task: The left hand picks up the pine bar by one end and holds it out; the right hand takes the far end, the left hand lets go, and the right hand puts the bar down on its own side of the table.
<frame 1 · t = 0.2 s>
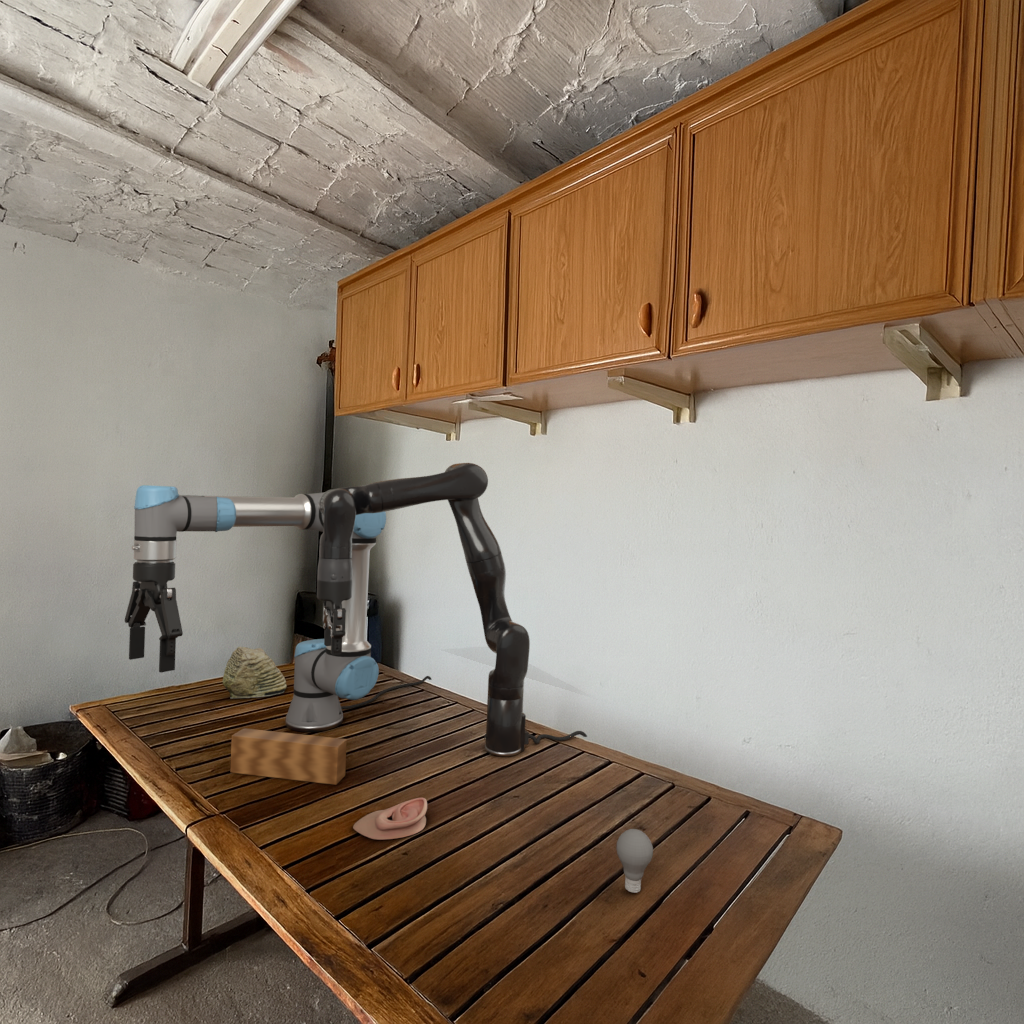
left hand: (151, 664, 130), 28 cm above the table, tool pointing down, fingers open, 13 cm apart
right hand: (332, 649, 142), 29 cm above the table, tool pointing down, fingers open, 8 cm apart
light bulb: (632, 891, 106), on the table
bar: (287, 774, 144), on the table
fossil: (254, 694, 198), on the table
anatomical model: (390, 826, 123), on the table
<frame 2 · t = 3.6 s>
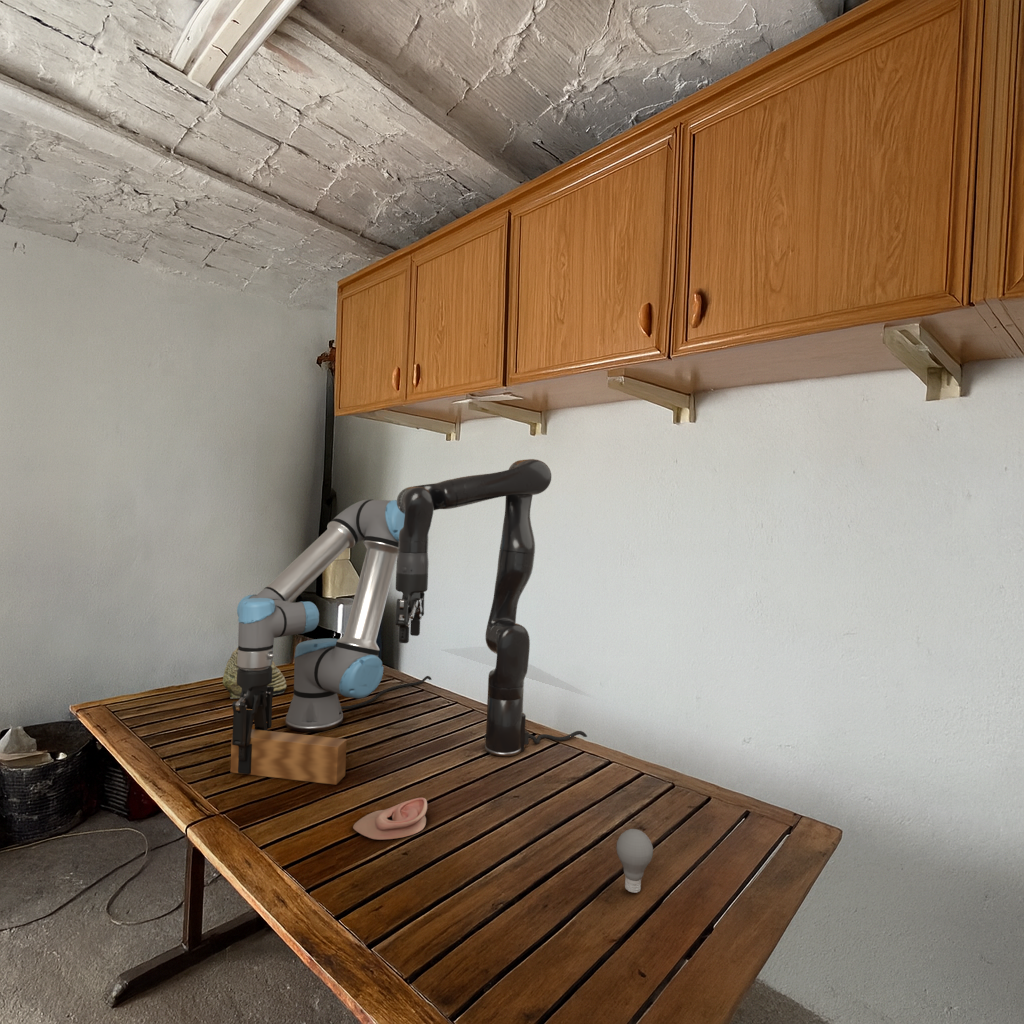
left hand: (251, 767, 145), 1 cm above the table, tool pointing down, fingers closed on bar, 5 cm apart
right hand: (409, 639, 150), 30 cm above the table, tool pointing down, fingers open, 8 cm apart
bar: (287, 774, 144), on the table, touching left hand
everything else where it was.
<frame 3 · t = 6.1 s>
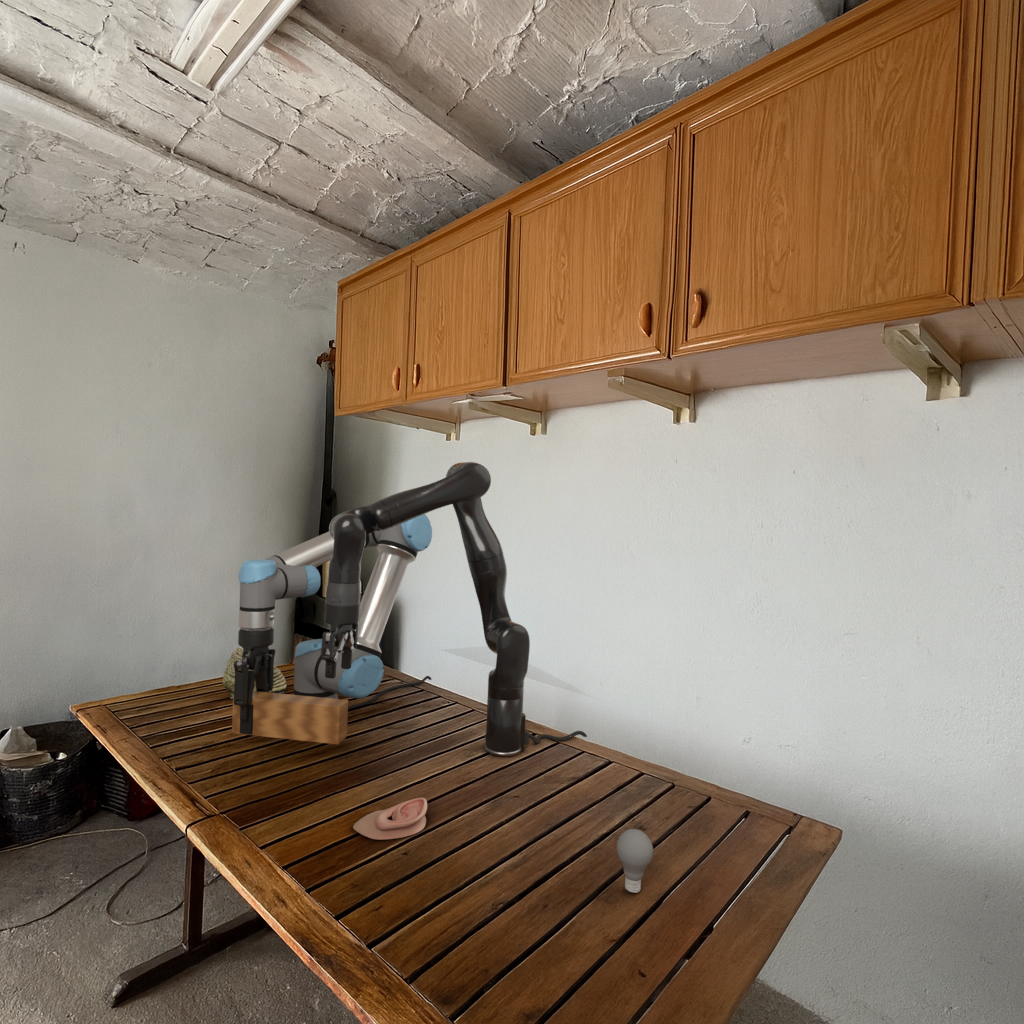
left hand: (252, 728, 145), 9 cm above the table, tool pointing down, fingers closed on bar, 5 cm apart
right hand: (338, 673, 143), 24 cm above the table, tool pointing down, fingers open, 8 cm apart
bar: (289, 734, 144), point 9 cm above the table, touching left hand
everything else where it was.
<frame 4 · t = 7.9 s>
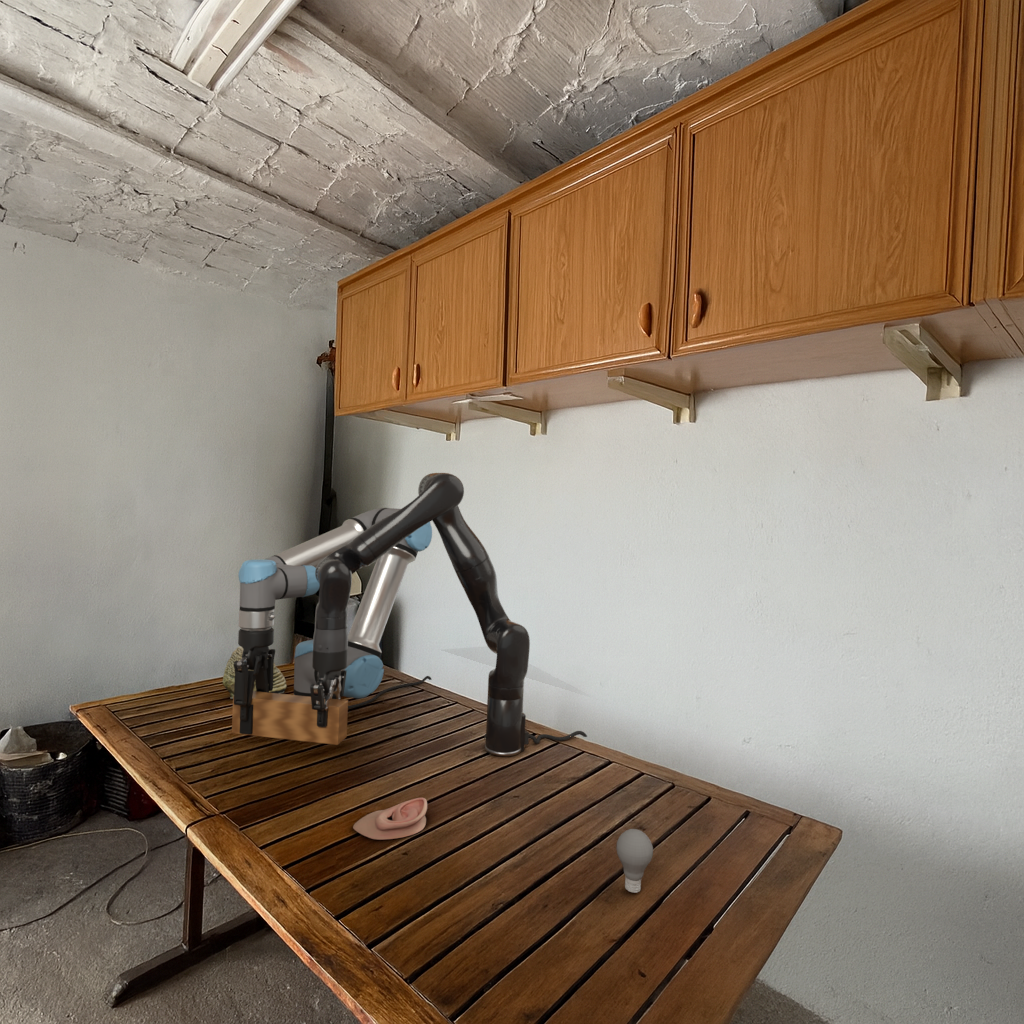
left hand: (252, 728, 145), 9 cm above the table, tool pointing down, fingers closed on bar, 5 cm apart
right hand: (327, 722, 142), 13 cm above the table, tool pointing down, fingers closed on bar, 5 cm apart
bar: (289, 735, 144), point 9 cm above the table, touching left hand, right hand
everything else where it was.
when the left hand's fingers open (10 cm above the table, at t = 8.7 s): bar stays where it is, held by the right hand.
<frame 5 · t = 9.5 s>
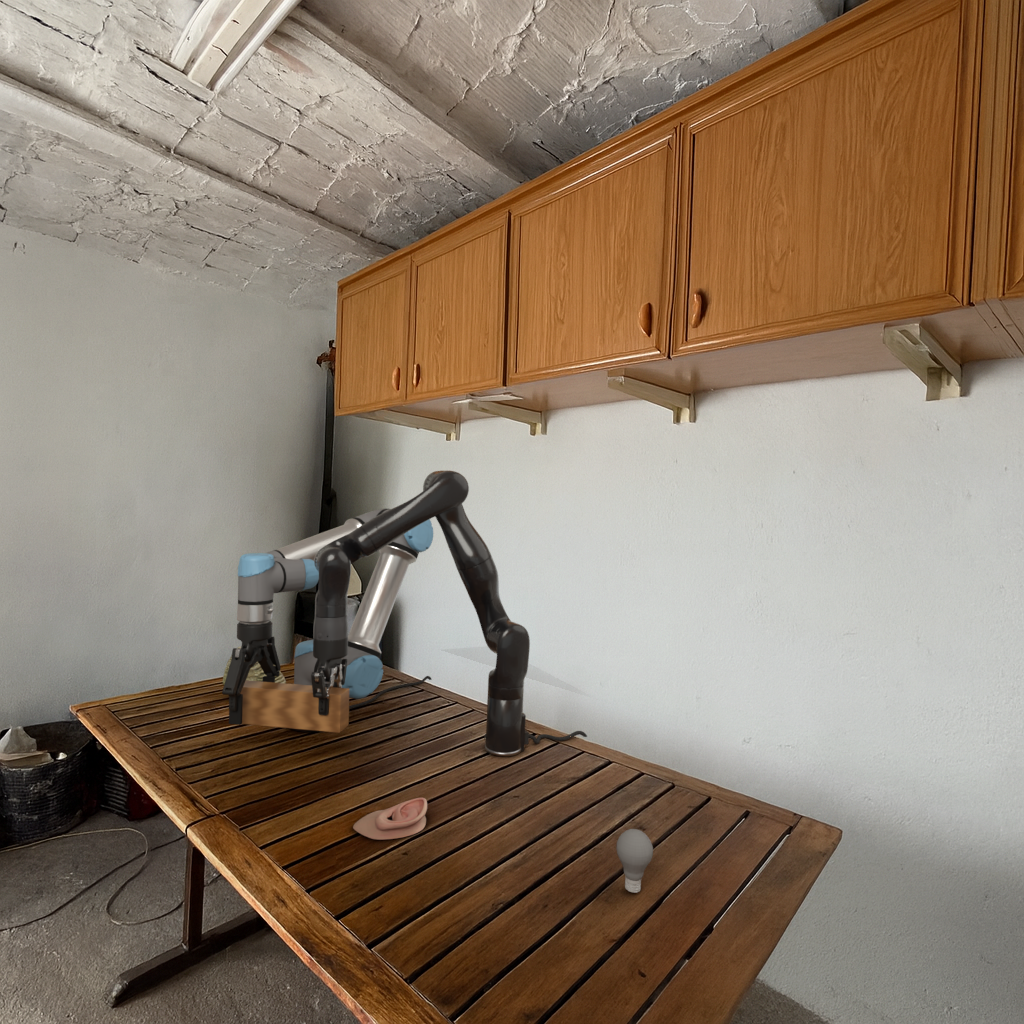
left hand: (252, 713, 145), 13 cm above the table, tool pointing down, fingers open, 13 cm apart
right hand: (329, 710, 142), 15 cm above the table, tool pointing down, fingers closed on bar, 5 cm apart
bar: (291, 724, 144), point 11 cm above the table, touching right hand
everything else where it was.
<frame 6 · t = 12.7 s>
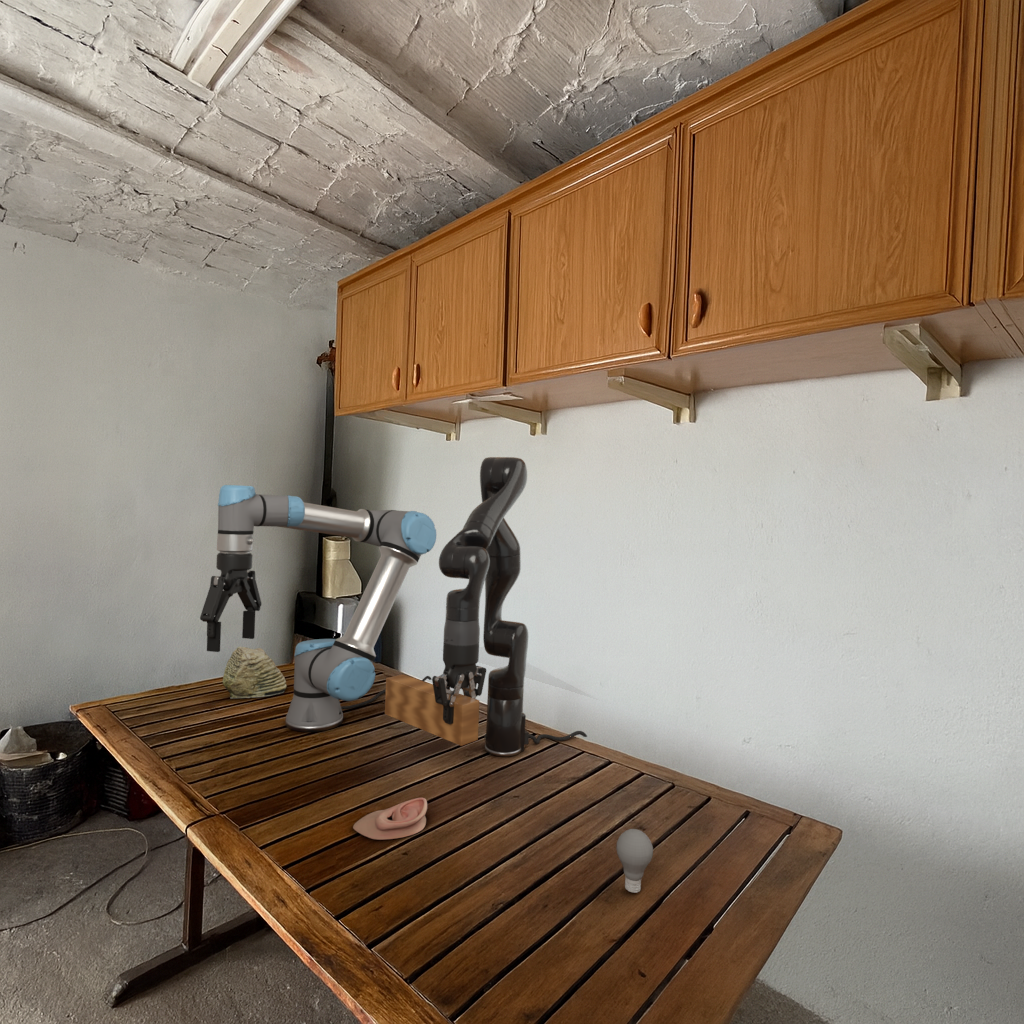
left hand: (231, 644, 146), 28 cm above the table, tool pointing down, fingers open, 13 cm apart
right hand: (458, 719, 134), 18 cm above the table, tool pointing down, fingers closed on bar, 5 cm apart
bar: (429, 726, 140), point 14 cm above the table, touching right hand
everything else where it was.
when the right hand's fingers open (5 cm above the table, at t = 17.4 s): bar drops 1 cm, on the table.
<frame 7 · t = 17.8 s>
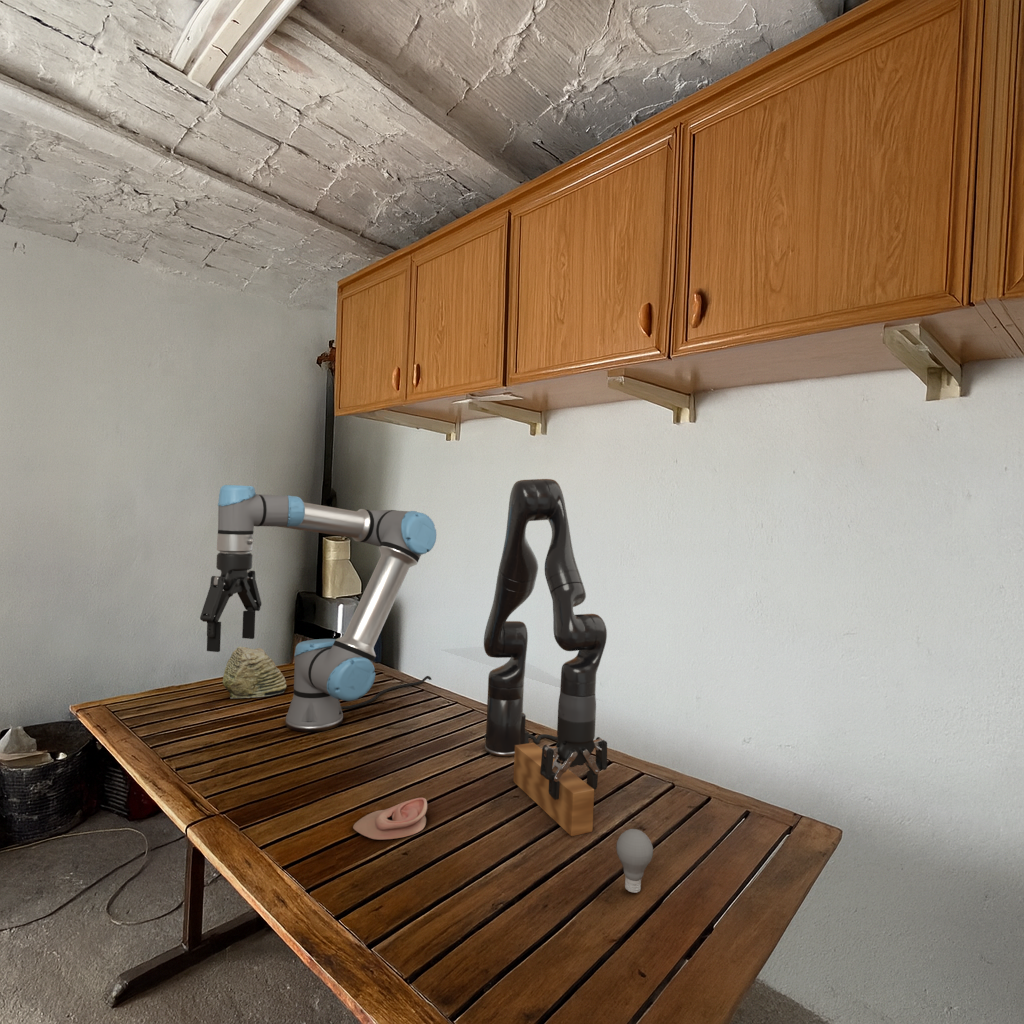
left hand: (231, 644, 146), 28 cm above the table, tool pointing down, fingers open, 13 cm apart
right hand: (573, 794, 127), 6 cm above the table, tool pointing down, fingers open, 8 cm apart
bar: (549, 804, 135), on the table
everything else where it was.
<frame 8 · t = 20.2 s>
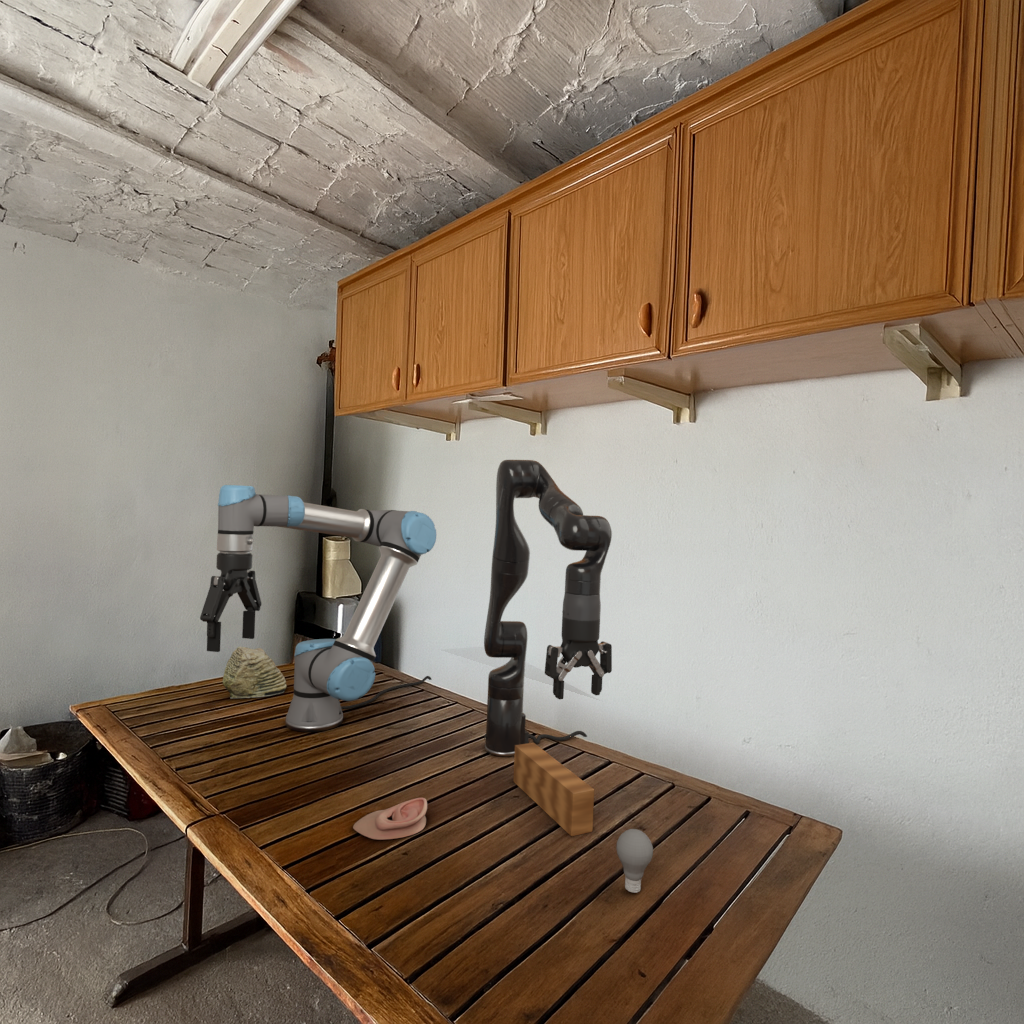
left hand: (231, 644, 146), 28 cm above the table, tool pointing down, fingers open, 13 cm apart
right hand: (577, 696, 126), 26 cm above the table, tool pointing down, fingers open, 8 cm apart
nothing on the table moved.
at the end: bar inside the target area (8.8 cm from its centre), on the table; the left hand is holding nothing; the right hand is holding nothing; bar at rest at the end (0.0 cm/s) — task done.
